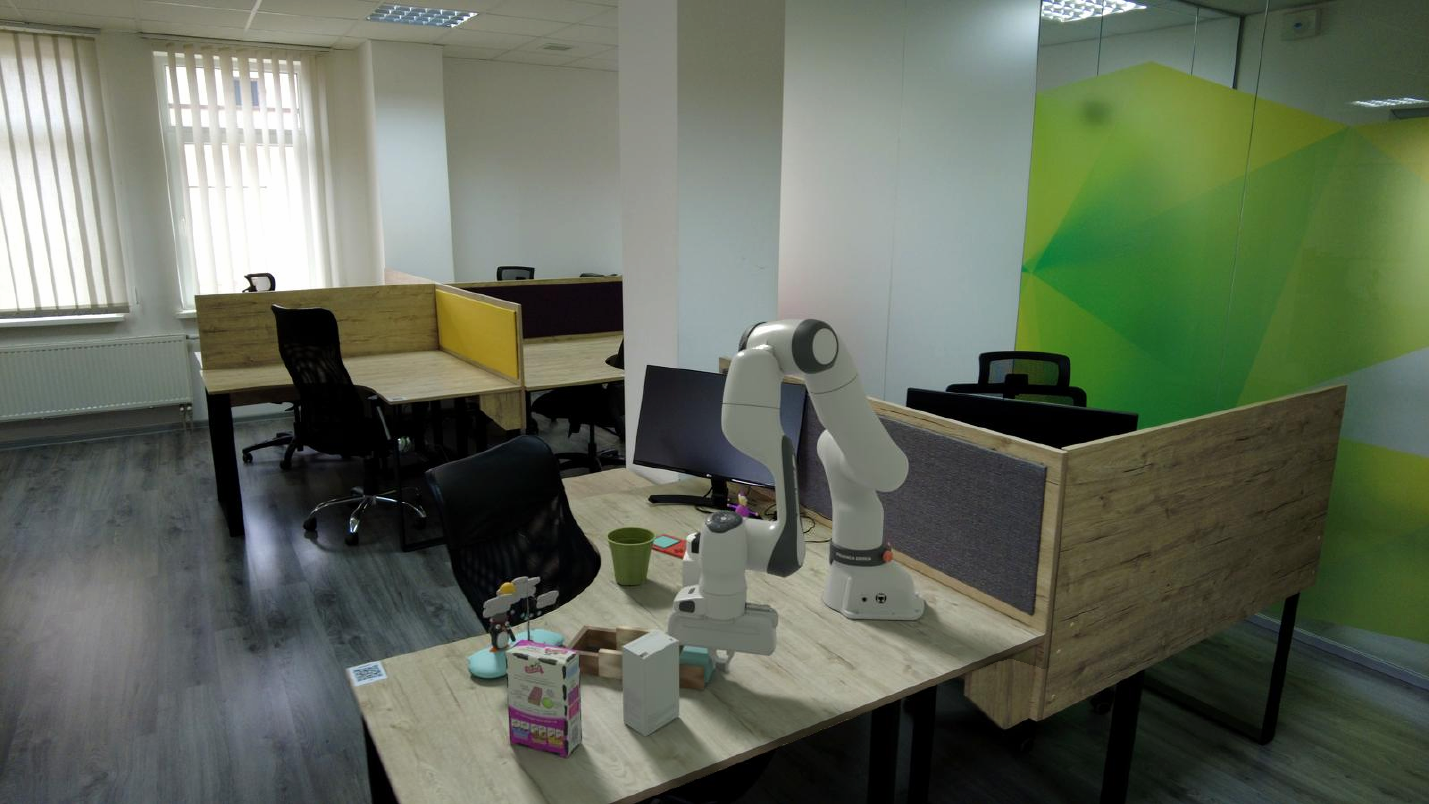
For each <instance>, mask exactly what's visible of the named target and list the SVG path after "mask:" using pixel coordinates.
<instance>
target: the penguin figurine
mask: <svg viewBox="0 0 1429 804" xmlns="http://www.w3.org/2000/svg"><path fill="white" fill-rule="evenodd" d="M540 582H541V577H540V576H537V577H531V578H529V577H528V576H521V577H517V578H515V579H513V580H512V581H511V582H504V583H503V584H501V586H500V587H499V589H498V590H497V591H496V597H493V598H491V599H488V600H487V601H485V602H484V603H483V609H484V610H483V612H482V615H483V618H486V619H487V618H489V622H490V627H489V628H488V632H487V633H488V635H490V639H491V640H490V641H491V645H492V646H489V647H486V648H484V649H481V650H480V649H479V651H476V652H475V653H473V654H471V655H470V656H468V657H467V658H466V661H467V663H468V664H469V666H468V670H469V671H470V673H472V674H473V675H474V676H476V677H479V678H484V679H495V678H499V677H502V676H505V675H507V673H506V655H505V652H506V651H507V650H509V649H510V648H512V647H513V646H514V645H515V644H516V643H518V642H519V641H520V640H527V641H532V642H537V643H542V644H547V645H552V646H557V647H560V646H562V644H563V643H564V641H565V637H564V636H563V635H561V634H560V633H557V632H553V631H552V630H551V631H550V630H548V629H547V630H546V629H543V628H536V627H532V626H530V623H533V621H532V622H530V618H531V619H532V617H533V616H534V613H531V612H530V611H529V610H530V606H532V605H533V604H530V606H529V602H530V600H528V598H529V597H530V596H533V595H534V594H535V593H536V590H537V588H536V585H537V584H539V583H540ZM559 595H560V594H559V591H558V590H553V591H549V592H547V593H543V594H541V595H538V597H537V598H533V599H535V600H536V602H537V603H536V609H543V608H545V607H546V606H551V605H554V604H555V603H556V602H557V598H558V597H559ZM521 599H523V600H525V599H526V605H527V607H526V606H525V605H524V604H523V603H521V606H523V608H525V609H524V610H522V611H527V612H526V613H522V614H521V615H520V618H523V617H524V620H527V624H526V627H525V630H524V631H522V632H519V633H517V634H515V633H514V632H513V630H512V625H510V622H509V618H510V617H509V615H507V612H508V611H510V609H511V607H512V606H511V605H512V604H515V603H517V602H519V601H520V600H521ZM514 613H515V610H511V612H510V615H512V614H514ZM541 614H542V611H538V612H537V616H540V615H541ZM547 625H548V622H544V623H543V626H544V627H547ZM520 627H521V626H518V625H517V627H516V630H520V629H521V628H520ZM530 627H532V628H531V629H530Z"/></svg>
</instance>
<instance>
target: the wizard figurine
mask: <svg viewBox="0 0 1429 804" xmlns="http://www.w3.org/2000/svg"><path fill="white" fill-rule="evenodd" d="M749 501H750V502H749ZM738 502H739V504H738V505H732V504H730V499H727V504H726V505H727V507H731V508H733V509H735V511H734V512H736V513H738V514H740V515H741V516H742V517H746V518H749V514H751V515H755V516H756V517H757V516H758V517H759V513H758V512H755V511H751V510H749V509H748V506H747V505H750V506H752V507H757V505H758V504H756V503H757V499H753V498H750V497H748V496H745V495H744V492H743V490H741V491H740V493H739V494H738Z"/></svg>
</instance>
